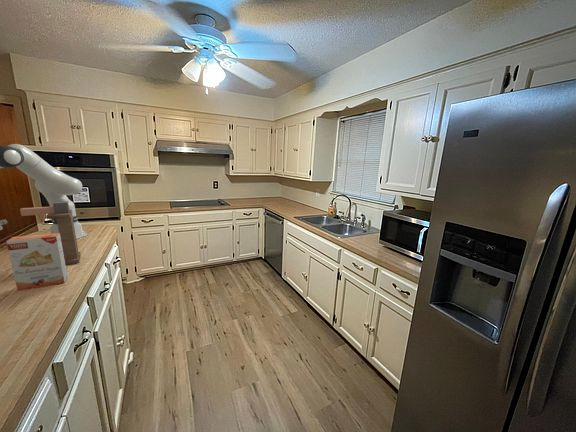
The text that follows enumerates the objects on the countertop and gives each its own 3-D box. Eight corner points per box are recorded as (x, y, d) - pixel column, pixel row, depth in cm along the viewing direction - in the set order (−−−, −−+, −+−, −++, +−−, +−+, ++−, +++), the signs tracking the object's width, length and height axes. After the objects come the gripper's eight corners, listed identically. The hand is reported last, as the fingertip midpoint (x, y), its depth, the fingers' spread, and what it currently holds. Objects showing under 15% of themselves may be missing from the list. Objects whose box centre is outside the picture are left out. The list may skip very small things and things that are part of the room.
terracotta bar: (23, 214, 111) (21, 203, 110) (69, 210, 121) (68, 201, 120) (20, 216, 107) (18, 205, 106) (68, 212, 117) (67, 202, 116)
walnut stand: (59, 258, 125) (50, 211, 119) (80, 255, 130) (73, 209, 124) (55, 267, 115) (46, 215, 110) (79, 263, 120) (70, 214, 115)
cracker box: (16, 292, 94) (4, 240, 89) (23, 285, 99) (11, 236, 94) (64, 284, 101) (56, 236, 96) (68, 277, 106) (60, 232, 101)
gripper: (-59, 237, 90) (-6, 223, 97) (-41, 223, 104) (4, 212, 112) (-47, 252, 92) (4, 237, 100) (-31, 236, 107) (12, 224, 115)
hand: (4, 224), depth 106 cm, fingers open, 8 cm apart
